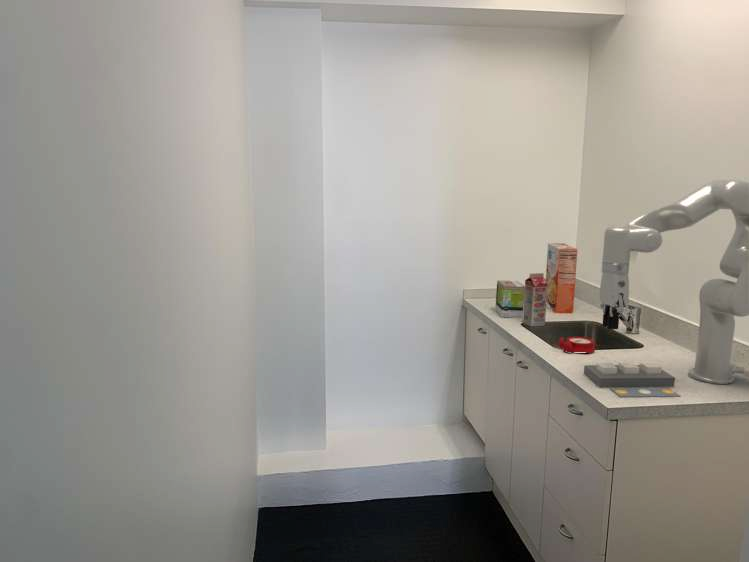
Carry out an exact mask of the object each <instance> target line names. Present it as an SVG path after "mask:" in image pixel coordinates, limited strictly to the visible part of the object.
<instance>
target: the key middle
mask: <svg viewBox="0 0 749 562" xmlns="http://www.w3.org/2000/svg"><path fill="white" fill-rule="evenodd" d="M618 365H619V366H618V370H619V371H621V372H622V373H624V374H639V367H638V366H637V365H638V364H636V363H633V362H618Z"/></svg>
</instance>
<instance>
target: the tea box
mask: <svg viewBox="0 0 749 562" xmlns="http://www.w3.org/2000/svg"><path fill="white" fill-rule="evenodd" d="M524 292H525V284H524V285H523V283H521V282H520V281H518V280H497V281H496V291H495V309H494V310H495V311H496V313H497V314H498V315H499V316H500V317H501V318H503V317H505V318H506V319H507V318H508V319H510V318H511V319H523V309H524Z"/></svg>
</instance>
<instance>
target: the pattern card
mask: <svg viewBox="0 0 749 562" xmlns="http://www.w3.org/2000/svg"><path fill="white" fill-rule="evenodd" d="M609 390H610V391H611V390H612V391H611V392H613V394H616V396H617V397H619V398H681V395H680V394H679V393H677V392H676V391H674V390H672V389H671V387H628V388H609Z"/></svg>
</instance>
